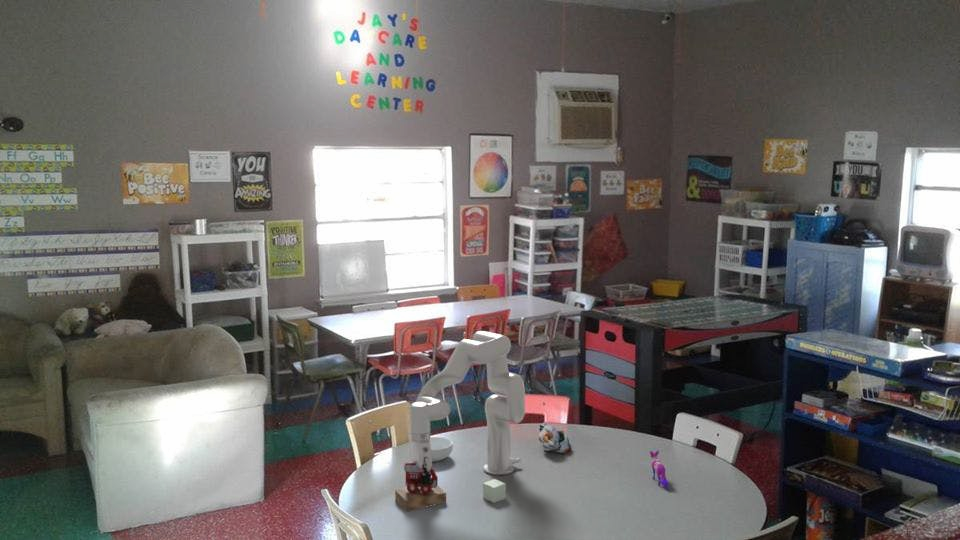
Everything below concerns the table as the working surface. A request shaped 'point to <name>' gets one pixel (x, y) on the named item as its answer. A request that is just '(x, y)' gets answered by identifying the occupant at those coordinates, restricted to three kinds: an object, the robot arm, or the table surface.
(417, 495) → the tan block
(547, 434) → the lucky cat figurine
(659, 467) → the toy dog
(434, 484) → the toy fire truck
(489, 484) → the sage cube
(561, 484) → the table surface
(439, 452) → the cereal bowl
